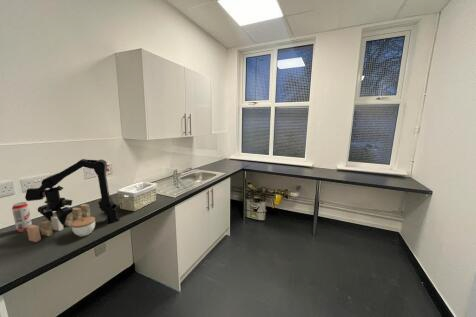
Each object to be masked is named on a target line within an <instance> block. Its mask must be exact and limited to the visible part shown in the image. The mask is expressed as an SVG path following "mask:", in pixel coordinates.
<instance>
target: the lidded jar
mask: <svg viewBox="0 0 476 317" xmlns="http://www.w3.org/2000/svg"><path fill="white" fill-rule="evenodd" d="M70 227H71V230H72V232H73V234H74V235H76V236H78V237H86V236H89V235H91V234H92V232H93V231H94V230H95V227H96V217H94V216H90V217H82V218H79V219H77V220H74V221H73V222H72V223H71V226H70Z"/></svg>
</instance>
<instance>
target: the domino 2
mask: <svg viewBox="0 0 476 317" xmlns="http://www.w3.org/2000/svg"><path fill="white" fill-rule="evenodd" d="M51 221H52V222H51V226H52V231H57V232H60V231H62V230H64V225H62V224H61V223H60V221H59V219H58V218H57V214H55V215H54V214H53V216H52V217H51Z"/></svg>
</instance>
